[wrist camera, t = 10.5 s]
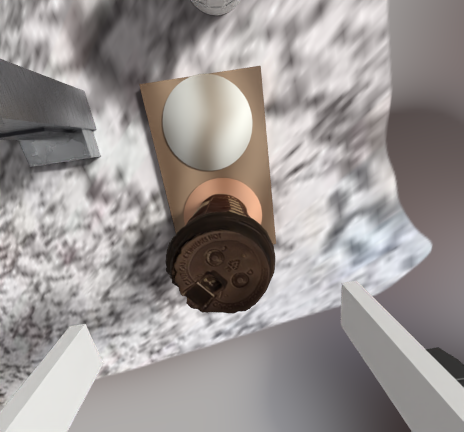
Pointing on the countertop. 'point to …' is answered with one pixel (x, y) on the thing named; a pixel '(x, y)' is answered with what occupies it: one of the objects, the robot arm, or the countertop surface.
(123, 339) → the countertop surface
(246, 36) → the countertop surface
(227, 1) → the cup
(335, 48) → the countertop surface
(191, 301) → the coffee cup
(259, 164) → the walnut board
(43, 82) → the miniature fireplace
